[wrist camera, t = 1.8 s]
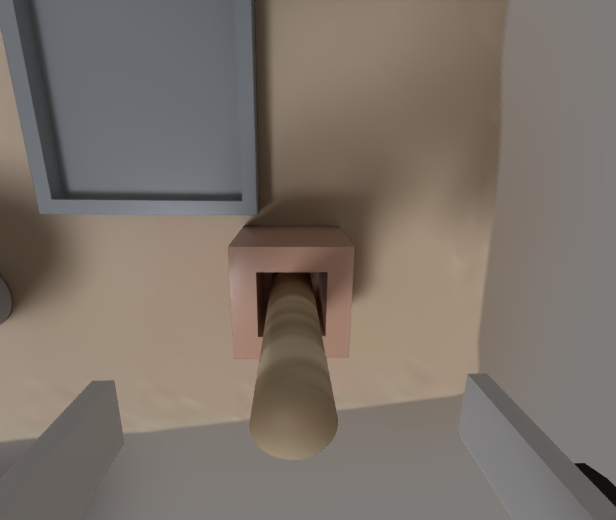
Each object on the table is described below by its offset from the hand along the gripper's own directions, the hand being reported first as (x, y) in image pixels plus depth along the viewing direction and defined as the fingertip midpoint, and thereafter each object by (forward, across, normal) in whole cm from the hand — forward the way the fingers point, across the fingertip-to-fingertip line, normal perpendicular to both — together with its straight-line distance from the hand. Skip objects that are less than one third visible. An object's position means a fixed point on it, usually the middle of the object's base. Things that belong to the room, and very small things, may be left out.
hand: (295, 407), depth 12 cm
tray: (+16, -10, +16) cm, 25 cm away
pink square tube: (+16, 0, 0) cm, 16 cm away
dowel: (+15, 0, 0) cm, 15 cm away
